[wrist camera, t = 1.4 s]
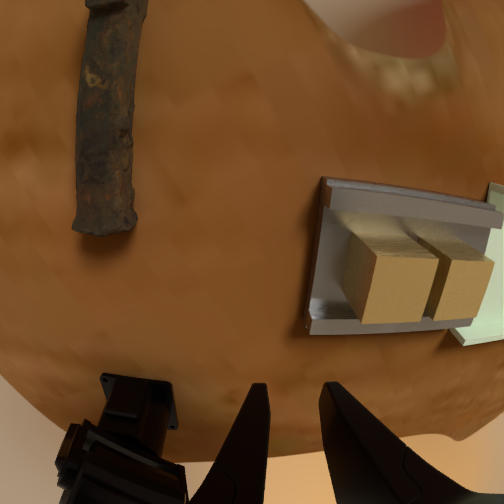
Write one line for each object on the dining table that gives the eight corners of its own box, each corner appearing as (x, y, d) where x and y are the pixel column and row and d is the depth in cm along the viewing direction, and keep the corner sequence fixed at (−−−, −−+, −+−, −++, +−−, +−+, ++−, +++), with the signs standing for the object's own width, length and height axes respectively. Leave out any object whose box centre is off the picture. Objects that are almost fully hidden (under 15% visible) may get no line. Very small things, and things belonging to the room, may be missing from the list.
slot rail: (455, 314, 23) (469, 329, 21) (302, 318, 22) (308, 338, 20) (486, 201, 19) (505, 209, 17) (322, 176, 19) (332, 182, 16)
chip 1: (394, 290, 20) (420, 321, 17) (341, 290, 20) (361, 323, 16) (407, 235, 19) (439, 259, 15) (352, 231, 19) (377, 256, 15)
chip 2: (447, 290, 20) (476, 317, 17) (406, 290, 20) (432, 320, 17) (461, 240, 19) (495, 262, 15) (419, 236, 19) (452, 259, 15)
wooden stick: (145, 222, 20) (120, 247, 15) (91, 218, 19) (57, 240, 15) (182, -46, 13) (170, -81, 9) (126, -41, 13) (104, -71, 8)
